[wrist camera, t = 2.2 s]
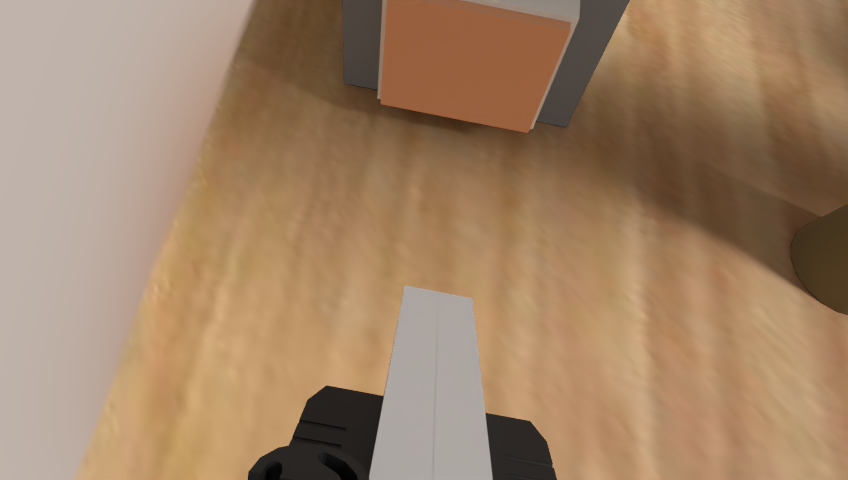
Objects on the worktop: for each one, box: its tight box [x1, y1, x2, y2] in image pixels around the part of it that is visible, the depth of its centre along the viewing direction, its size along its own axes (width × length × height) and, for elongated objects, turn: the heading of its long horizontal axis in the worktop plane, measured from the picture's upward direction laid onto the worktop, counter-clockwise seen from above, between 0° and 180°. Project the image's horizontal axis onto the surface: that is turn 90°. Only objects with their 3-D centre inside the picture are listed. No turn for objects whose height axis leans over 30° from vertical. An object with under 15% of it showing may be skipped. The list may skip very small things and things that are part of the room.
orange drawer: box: [377, 0, 580, 133], centre depth 32 cm, size 8×9×8 cm
